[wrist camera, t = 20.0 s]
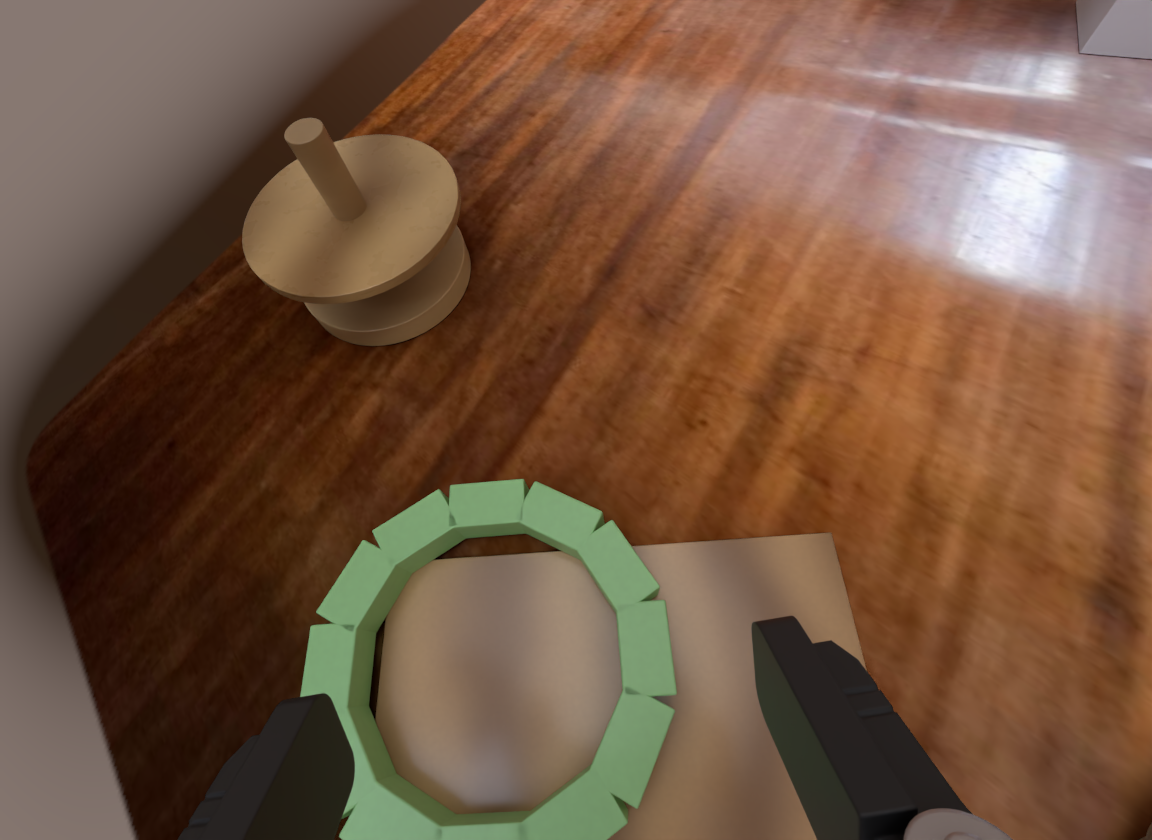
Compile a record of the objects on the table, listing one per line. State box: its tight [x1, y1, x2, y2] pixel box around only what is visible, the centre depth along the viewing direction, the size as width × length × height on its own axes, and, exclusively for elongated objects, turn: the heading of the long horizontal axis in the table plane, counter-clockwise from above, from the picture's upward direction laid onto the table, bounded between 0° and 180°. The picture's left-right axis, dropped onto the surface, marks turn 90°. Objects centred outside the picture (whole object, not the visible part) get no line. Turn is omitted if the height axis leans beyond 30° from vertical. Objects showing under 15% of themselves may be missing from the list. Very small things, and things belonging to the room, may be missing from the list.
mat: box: [375, 533, 867, 840], centre depth 22 cm, size 20×15×1 cm
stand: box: [242, 118, 471, 346], centre depth 29 cm, size 12×12×10 cm
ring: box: [300, 479, 677, 840], centre depth 22 cm, size 15×15×2 cm
